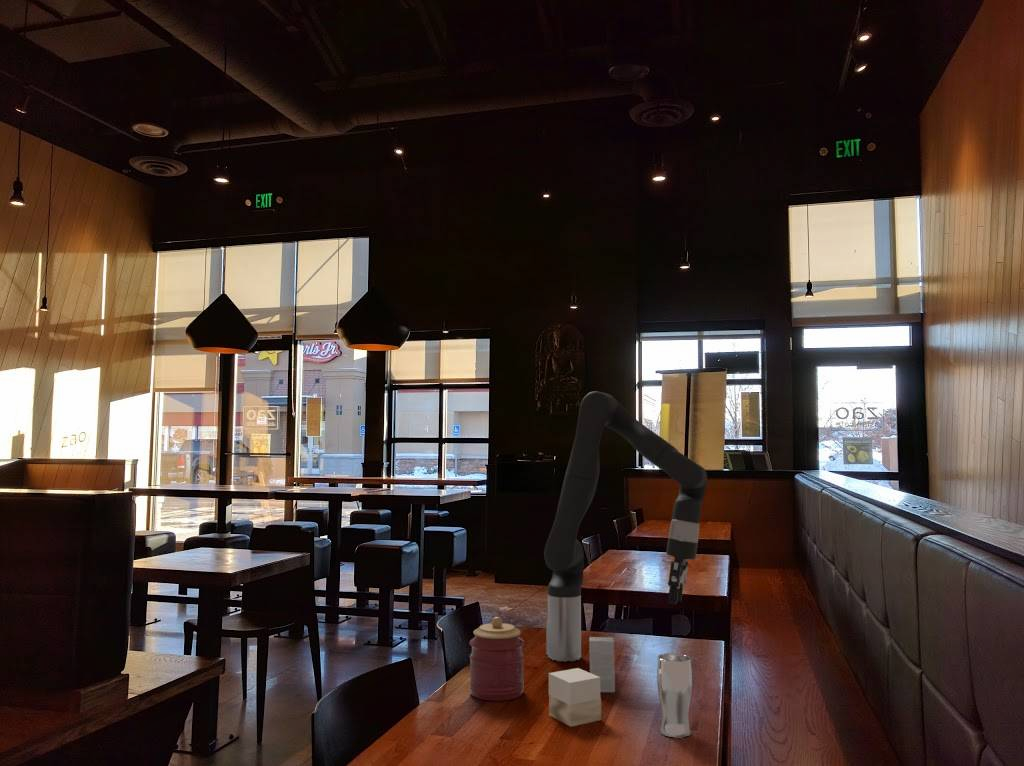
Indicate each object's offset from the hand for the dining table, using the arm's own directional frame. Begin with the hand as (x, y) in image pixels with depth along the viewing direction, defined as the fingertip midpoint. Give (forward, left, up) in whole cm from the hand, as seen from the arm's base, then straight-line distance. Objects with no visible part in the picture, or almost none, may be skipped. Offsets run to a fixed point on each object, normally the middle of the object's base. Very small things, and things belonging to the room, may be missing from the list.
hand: (674, 602), depth 193 cm
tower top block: (+10, -39, -14) cm, 43 cm away
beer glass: (+28, -27, -19) cm, 44 cm away
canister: (-13, -45, -19) cm, 51 cm away
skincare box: (-2, -22, -19) cm, 29 cm away
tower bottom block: (+10, -39, -19) cm, 45 cm away
